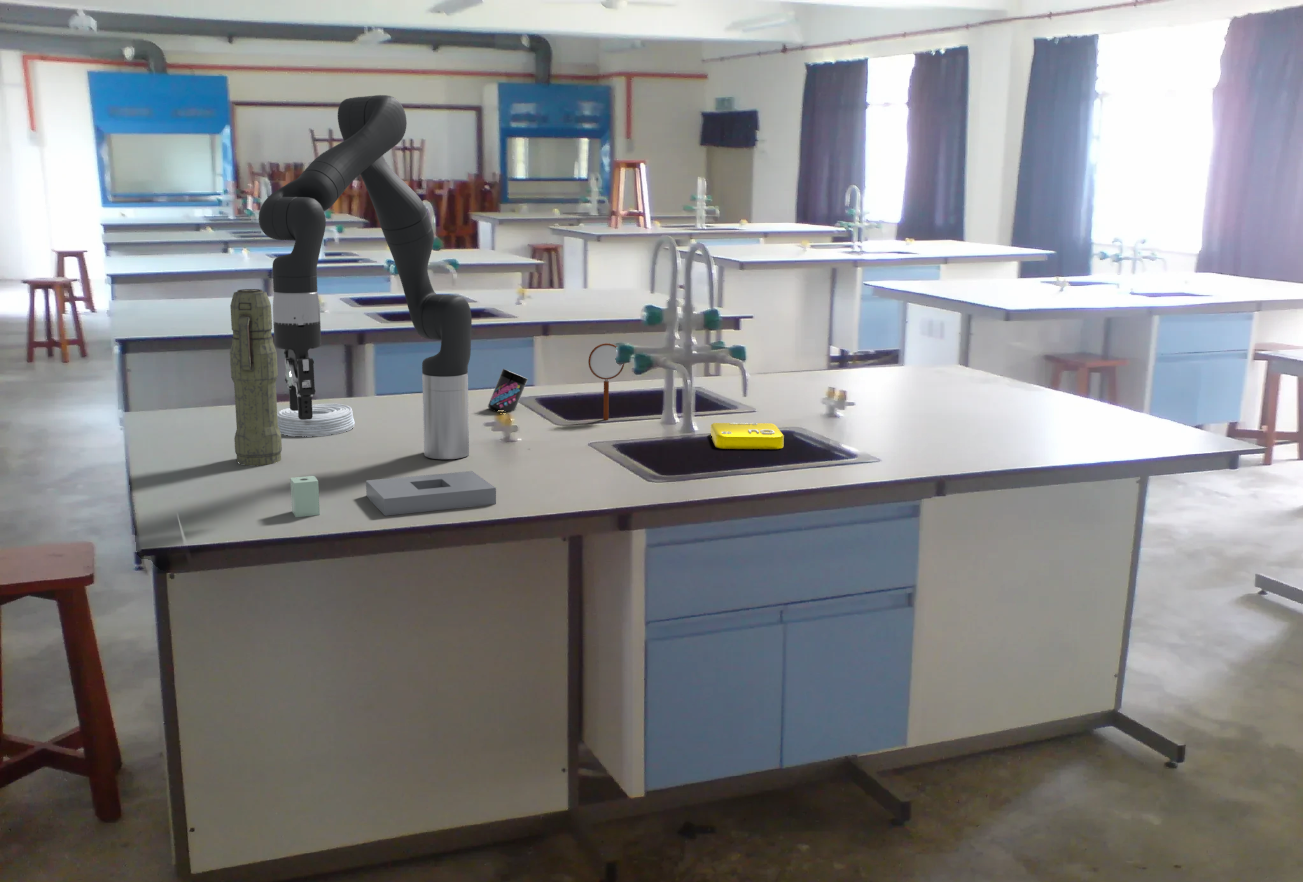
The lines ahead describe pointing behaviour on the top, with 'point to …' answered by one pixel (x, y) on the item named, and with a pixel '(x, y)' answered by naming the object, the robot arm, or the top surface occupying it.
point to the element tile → (746, 436)
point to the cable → (317, 421)
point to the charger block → (305, 496)
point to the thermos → (254, 379)
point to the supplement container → (507, 391)
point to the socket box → (430, 492)
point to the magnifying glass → (604, 368)
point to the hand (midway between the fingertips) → (301, 414)
